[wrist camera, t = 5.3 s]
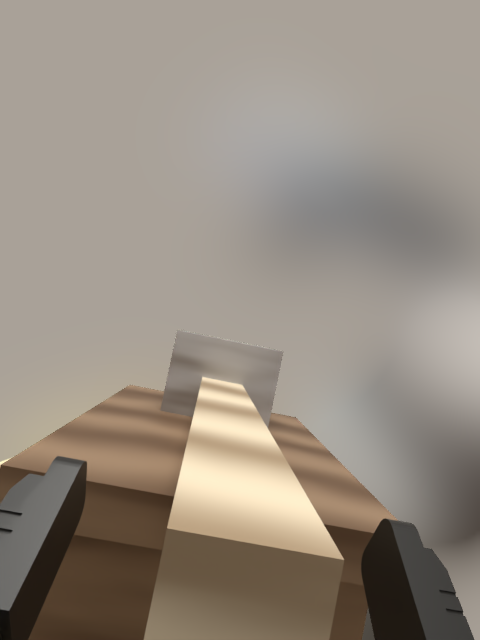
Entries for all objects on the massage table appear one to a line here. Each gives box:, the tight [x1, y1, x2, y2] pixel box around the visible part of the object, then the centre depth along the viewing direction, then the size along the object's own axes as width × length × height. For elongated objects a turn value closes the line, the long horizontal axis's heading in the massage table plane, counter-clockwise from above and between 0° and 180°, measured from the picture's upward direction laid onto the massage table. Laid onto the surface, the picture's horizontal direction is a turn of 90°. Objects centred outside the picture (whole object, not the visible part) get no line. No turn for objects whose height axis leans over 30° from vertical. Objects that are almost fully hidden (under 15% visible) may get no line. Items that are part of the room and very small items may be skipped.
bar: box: [144, 330, 344, 640], centre depth 23 cm, size 32×8×6 cm, turn 4°
